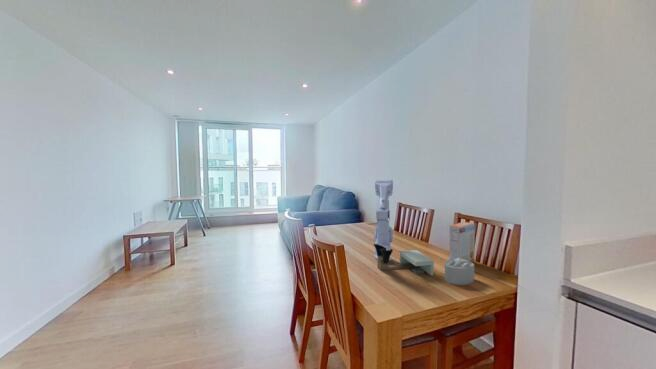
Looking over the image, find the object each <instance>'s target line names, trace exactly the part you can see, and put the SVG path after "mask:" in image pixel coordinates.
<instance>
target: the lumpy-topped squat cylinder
mask: <svg viewBox="0 0 656 369" xmlns="http://www.w3.org/2000/svg"><path fill="white" fill-rule="evenodd" d="M444 281H446V283H449V284H452V285H456V286H464V285H469V284H471V283H474V282H475V263H474V262H473V263H471V262H470V261H468V260H464V259H461V258H457V259H453V258H450V257H449V258H447V259H446V261H445V262H444Z"/></svg>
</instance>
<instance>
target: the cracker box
mask: <svg viewBox="0 0 656 369" xmlns="http://www.w3.org/2000/svg"><path fill="white" fill-rule="evenodd" d="M475 225H476V224H475V223H474V222H468V221H463V222H458V223H453V224H449V258H453V259H457V258H461V259H464V260H468V261H470V262H471V263H473V264H474V262H475V242H476V241H475V238H476V237H475V236H476V235H475V233H476V232H475V230H476V229H475V228H476V227H475Z"/></svg>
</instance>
